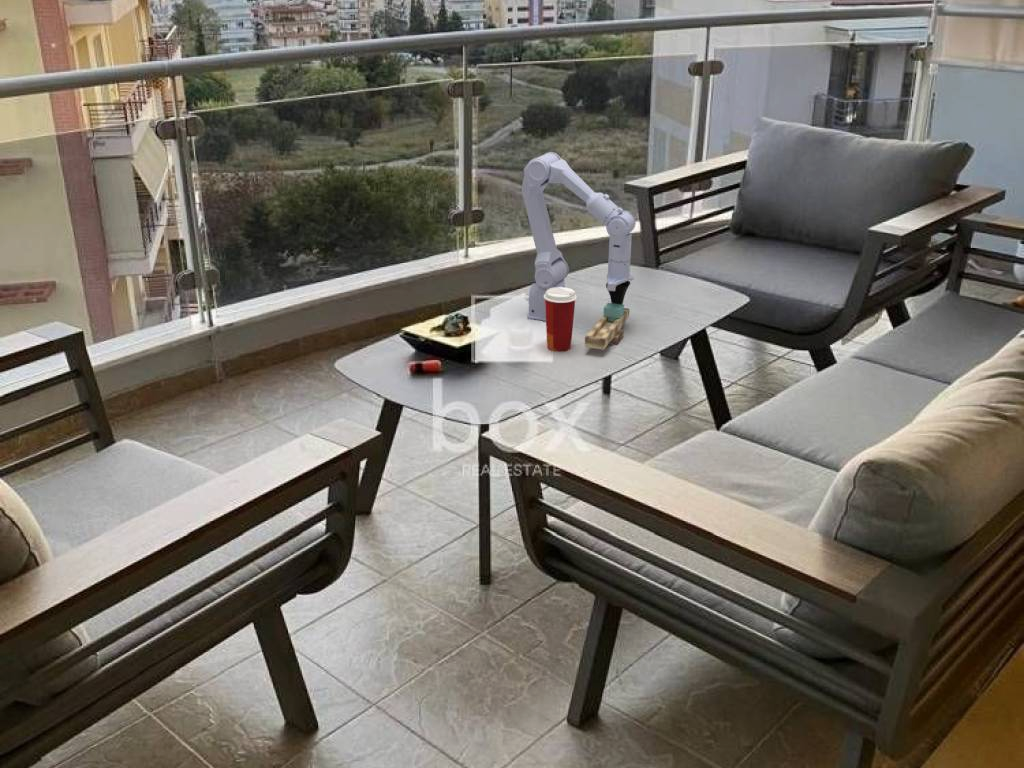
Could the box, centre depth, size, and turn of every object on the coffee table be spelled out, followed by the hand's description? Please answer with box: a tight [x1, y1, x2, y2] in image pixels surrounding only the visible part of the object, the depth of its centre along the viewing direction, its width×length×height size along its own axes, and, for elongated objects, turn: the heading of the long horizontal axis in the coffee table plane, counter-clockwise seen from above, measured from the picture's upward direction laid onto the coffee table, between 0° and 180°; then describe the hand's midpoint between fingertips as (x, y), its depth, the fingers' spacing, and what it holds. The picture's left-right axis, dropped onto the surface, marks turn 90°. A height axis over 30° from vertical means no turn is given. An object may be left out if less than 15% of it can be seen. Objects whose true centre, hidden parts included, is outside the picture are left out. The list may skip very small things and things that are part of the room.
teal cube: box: [602, 302, 625, 322], centre depth 266 cm, size 4×4×4 cm
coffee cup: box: [544, 286, 578, 353], centre depth 255 cm, size 8×8×15 cm
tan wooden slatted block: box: [584, 307, 630, 351], centre depth 263 cm, size 24×7×5 cm, turn 159°
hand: (616, 308), depth 268 cm, fingers closed
